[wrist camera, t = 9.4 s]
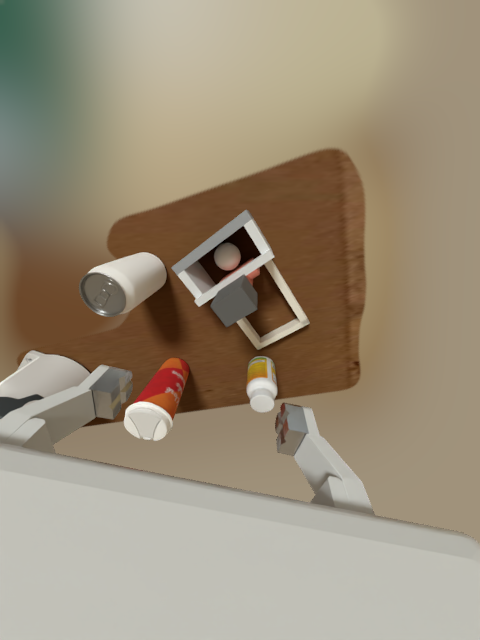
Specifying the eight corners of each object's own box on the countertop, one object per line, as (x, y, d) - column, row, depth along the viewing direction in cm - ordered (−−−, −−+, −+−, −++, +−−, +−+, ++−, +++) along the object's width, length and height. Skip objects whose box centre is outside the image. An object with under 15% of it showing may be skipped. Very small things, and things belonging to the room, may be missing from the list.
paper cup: (194, 384, 47) (170, 446, 34) (159, 379, 47) (123, 439, 34) (195, 355, 43) (168, 413, 30) (158, 350, 43) (116, 405, 31)
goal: (210, 288, 36) (198, 306, 29) (187, 258, 34) (168, 269, 27) (271, 247, 33) (274, 257, 25) (248, 210, 30) (245, 209, 23)
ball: (206, 257, 30) (210, 250, 33) (223, 279, 32) (225, 270, 35) (229, 240, 29) (230, 234, 32) (246, 264, 30) (245, 256, 34)
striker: (232, 292, 36) (219, 331, 24) (222, 277, 35) (202, 311, 23) (263, 272, 34) (265, 304, 22) (252, 256, 33) (249, 281, 21)
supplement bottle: (243, 369, 44) (239, 407, 35) (257, 350, 41) (256, 387, 33) (265, 380, 44) (267, 420, 36) (280, 362, 42) (285, 401, 33)
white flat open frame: (257, 344, 41) (257, 350, 39) (215, 288, 36) (213, 291, 34) (307, 318, 37) (309, 323, 36) (267, 253, 33) (268, 255, 31)
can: (175, 272, 36) (139, 297, 25) (153, 296, 38) (112, 329, 27) (144, 243, 34) (90, 256, 23) (123, 270, 36) (66, 294, 25)
